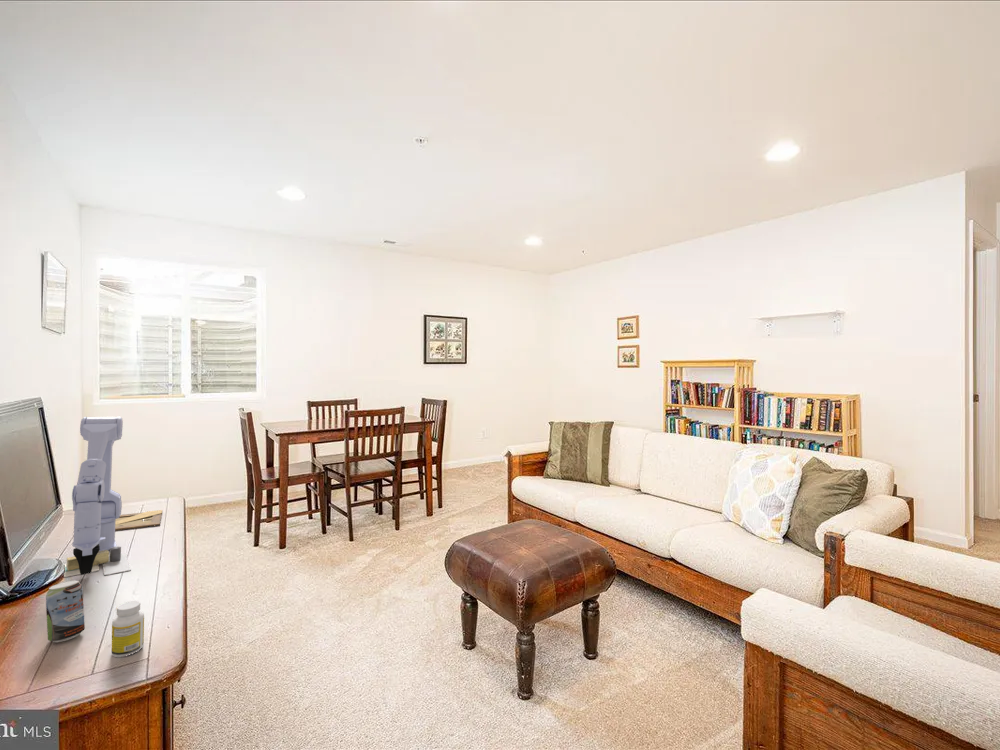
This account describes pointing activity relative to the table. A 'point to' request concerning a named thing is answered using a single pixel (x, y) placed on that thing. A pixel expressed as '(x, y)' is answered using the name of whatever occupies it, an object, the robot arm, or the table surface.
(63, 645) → the table surface
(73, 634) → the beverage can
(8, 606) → the table surface
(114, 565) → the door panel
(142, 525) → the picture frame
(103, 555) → the bar
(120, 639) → the supplement bottle
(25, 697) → the table surface
